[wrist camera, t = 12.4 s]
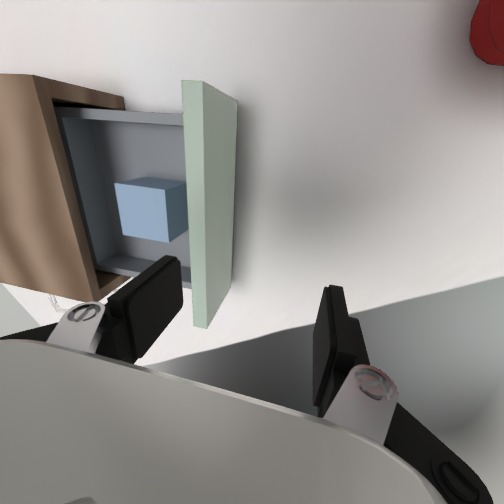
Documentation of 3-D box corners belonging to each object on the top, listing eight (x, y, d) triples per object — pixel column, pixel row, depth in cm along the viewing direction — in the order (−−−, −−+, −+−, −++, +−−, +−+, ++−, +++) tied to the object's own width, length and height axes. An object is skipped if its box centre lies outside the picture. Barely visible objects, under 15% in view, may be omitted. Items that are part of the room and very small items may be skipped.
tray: (237, 100, 21) (202, 80, 14) (230, 287, 30) (206, 329, 23) (85, 93, 24) (-3, 74, 17) (119, 265, 33) (69, 297, 26)
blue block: (189, 182, 24) (164, 189, 20) (190, 227, 26) (168, 242, 23) (145, 176, 25) (114, 183, 21) (150, 221, 27) (122, 234, 23)
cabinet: (123, 96, 25) (31, 74, 17) (147, 265, 33) (94, 304, 25) (2, 91, 27) (-125, 69, 19) (53, 247, 36) (-21, 277, 28)
